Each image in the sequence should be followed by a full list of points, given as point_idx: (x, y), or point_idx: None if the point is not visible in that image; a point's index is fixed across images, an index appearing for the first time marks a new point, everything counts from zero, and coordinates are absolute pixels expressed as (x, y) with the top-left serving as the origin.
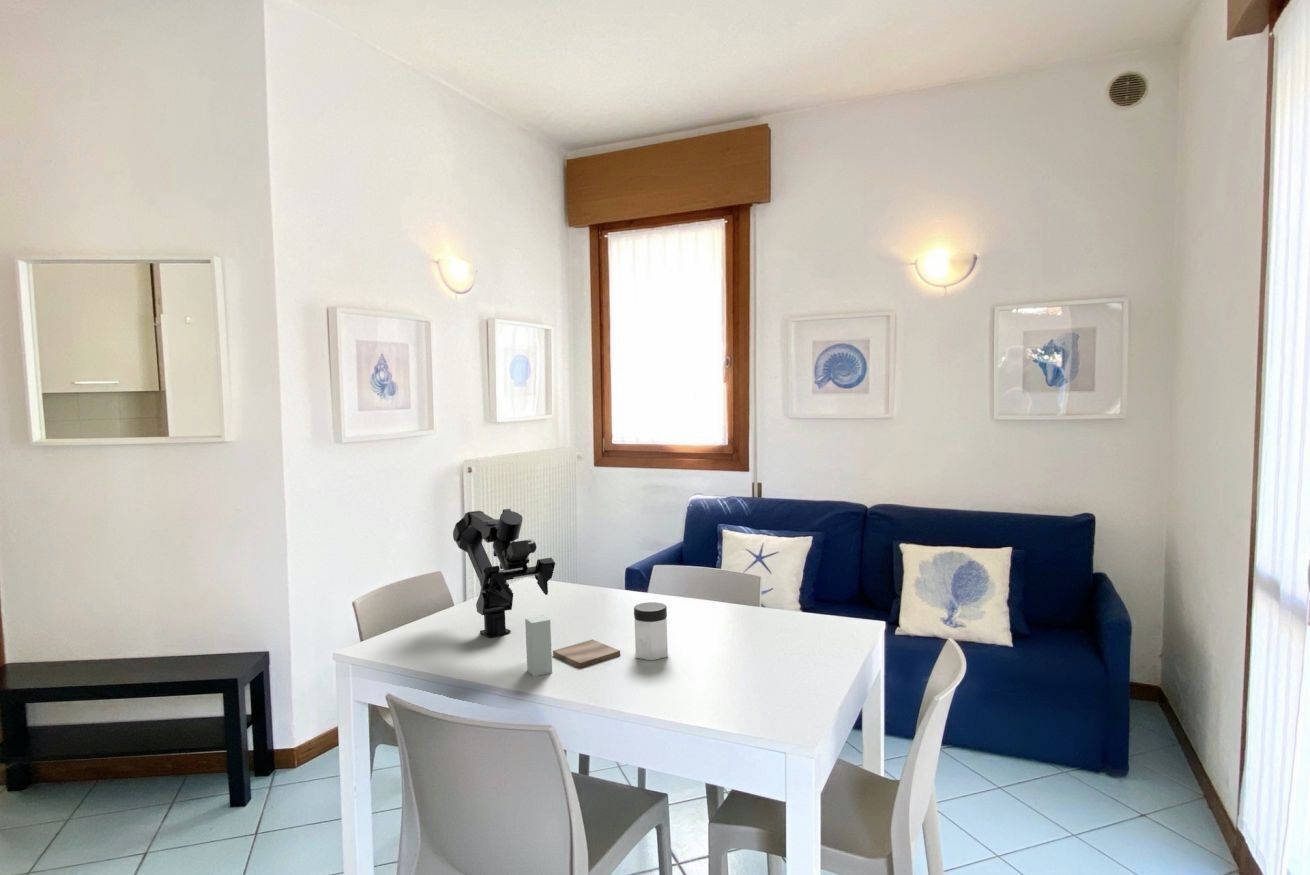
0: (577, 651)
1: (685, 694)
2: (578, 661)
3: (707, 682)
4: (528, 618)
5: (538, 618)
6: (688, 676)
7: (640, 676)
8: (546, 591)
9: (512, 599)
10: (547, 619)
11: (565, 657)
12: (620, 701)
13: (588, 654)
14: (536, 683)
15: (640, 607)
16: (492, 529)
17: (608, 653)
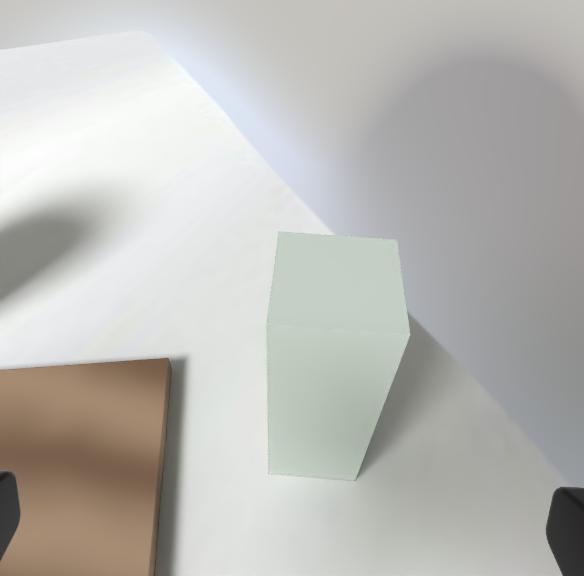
0: (68, 490)
1: (116, 136)
2: (160, 374)
3: (31, 145)
4: (389, 319)
5: (328, 284)
6: (22, 176)
7: (95, 226)
8: (5, 471)
9: (557, 497)
10: (290, 240)
11: (159, 465)
12: (237, 169)
13: (69, 418)
14: None
15: None
16: None
17: (10, 374)
